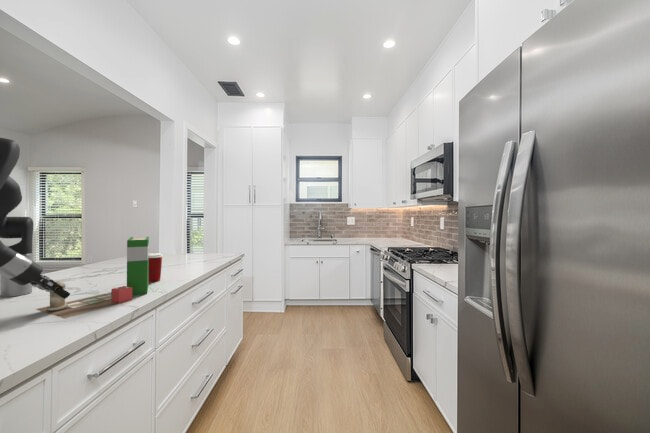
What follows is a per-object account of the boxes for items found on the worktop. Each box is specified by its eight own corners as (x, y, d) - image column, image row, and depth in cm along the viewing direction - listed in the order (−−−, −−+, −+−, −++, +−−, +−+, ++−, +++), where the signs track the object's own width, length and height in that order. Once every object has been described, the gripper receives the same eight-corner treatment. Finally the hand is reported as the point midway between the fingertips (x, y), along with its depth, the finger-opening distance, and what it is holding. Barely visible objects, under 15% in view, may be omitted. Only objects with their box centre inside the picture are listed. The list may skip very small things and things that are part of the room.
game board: (35, 310, 102) (35, 309, 102) (104, 294, 122) (104, 293, 122) (64, 320, 94) (64, 318, 94) (133, 301, 114) (133, 299, 114)
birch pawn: (43, 309, 101) (43, 282, 101) (63, 304, 106) (63, 279, 106) (51, 311, 99) (51, 284, 98) (70, 306, 104) (71, 280, 104)
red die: (111, 301, 112) (111, 288, 112) (124, 297, 117) (124, 285, 117) (118, 303, 110) (119, 290, 110) (132, 299, 115) (132, 287, 115)
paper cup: (166, 279, 149) (166, 253, 149) (152, 283, 142) (153, 255, 142) (155, 278, 152) (155, 252, 152) (141, 281, 145) (141, 254, 144)
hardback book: (130, 286, 134) (130, 237, 134) (148, 285, 138) (148, 236, 138) (126, 296, 119) (127, 240, 119) (147, 294, 123) (147, 239, 123)
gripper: (40, 261, 92) (83, 289, 104) (20, 257, 98) (63, 284, 109) (17, 280, 88) (65, 307, 99) (-3, 275, 93) (45, 301, 105)
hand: (64, 295), depth 104 cm, fingers closed on birch pawn, 4 cm apart
